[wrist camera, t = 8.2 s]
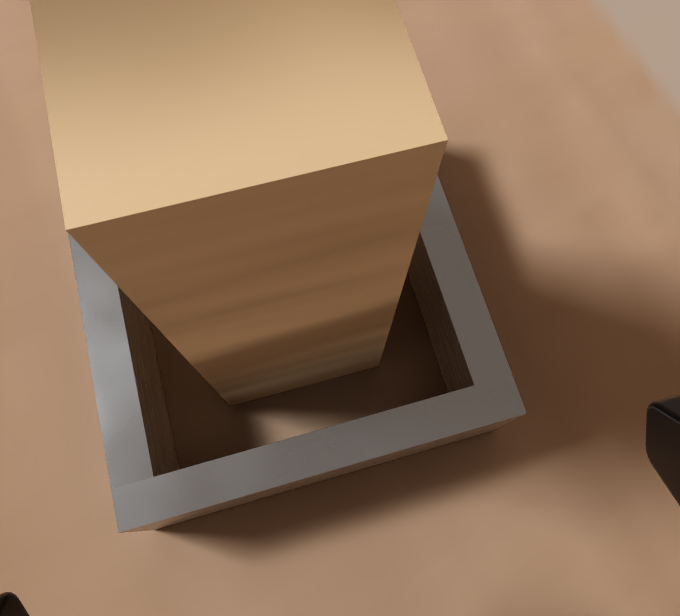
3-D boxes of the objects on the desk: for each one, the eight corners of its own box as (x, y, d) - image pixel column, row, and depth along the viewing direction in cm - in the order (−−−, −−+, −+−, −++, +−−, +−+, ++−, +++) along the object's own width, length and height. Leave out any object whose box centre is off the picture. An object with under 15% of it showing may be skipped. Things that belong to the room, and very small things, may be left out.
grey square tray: (496, 429, 18) (527, 413, 16) (153, 530, 17) (118, 532, 15) (393, 139, 21) (402, 81, 18) (94, 211, 20) (55, 162, 18)
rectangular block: (378, 366, 19) (447, 139, 8) (229, 406, 19) (65, 230, 7) (338, 232, 20) (346, -133, 9) (199, 266, 20) (19, -69, 8)
